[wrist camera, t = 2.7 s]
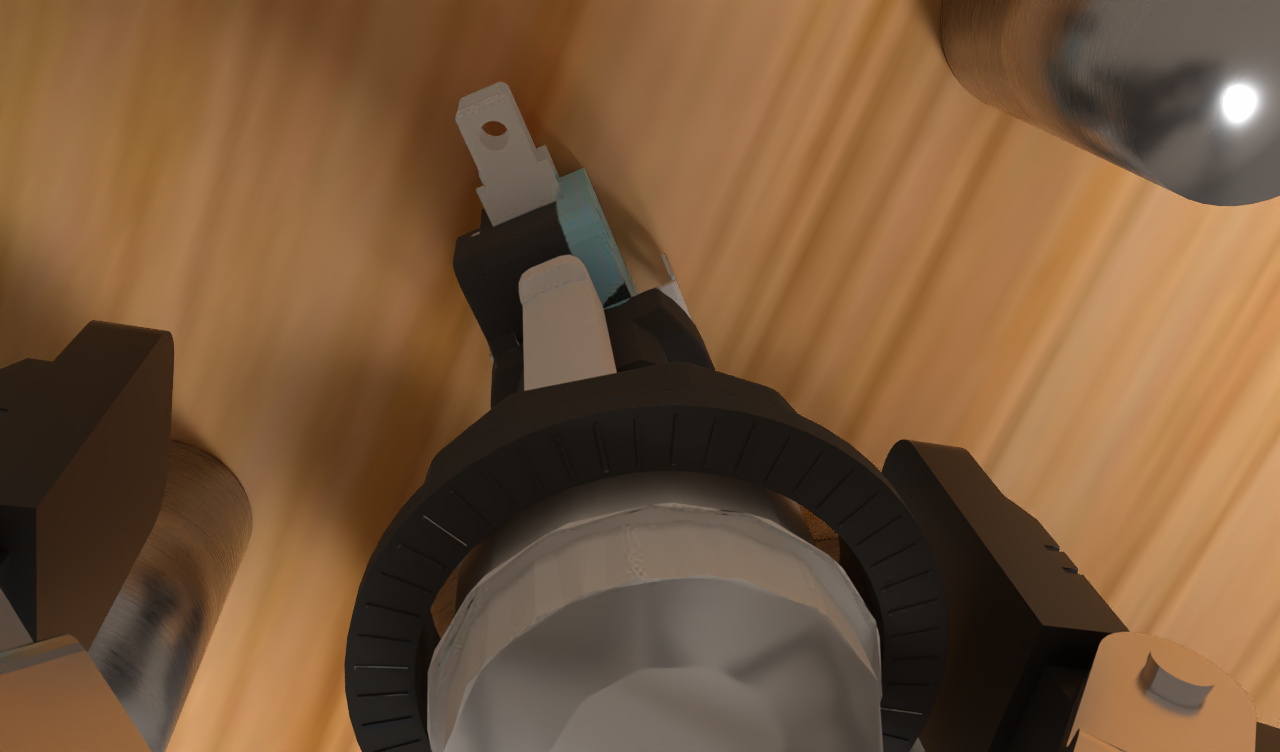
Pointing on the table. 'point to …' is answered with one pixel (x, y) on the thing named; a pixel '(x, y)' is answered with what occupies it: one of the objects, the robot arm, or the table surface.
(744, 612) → the push button
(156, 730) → the standoff cluster
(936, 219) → the table surface
